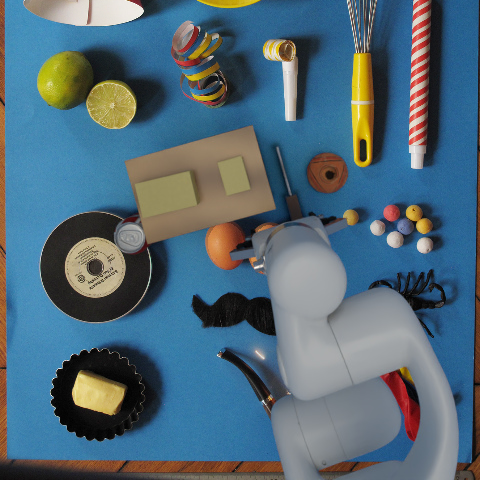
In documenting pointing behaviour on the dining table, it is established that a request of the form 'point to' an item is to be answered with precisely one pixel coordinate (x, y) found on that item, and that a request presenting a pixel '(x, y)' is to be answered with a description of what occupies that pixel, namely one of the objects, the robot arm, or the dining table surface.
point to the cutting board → (204, 183)
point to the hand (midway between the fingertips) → (284, 229)
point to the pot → (327, 172)
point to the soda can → (131, 235)
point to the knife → (290, 196)
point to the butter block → (167, 194)
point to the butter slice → (234, 175)
